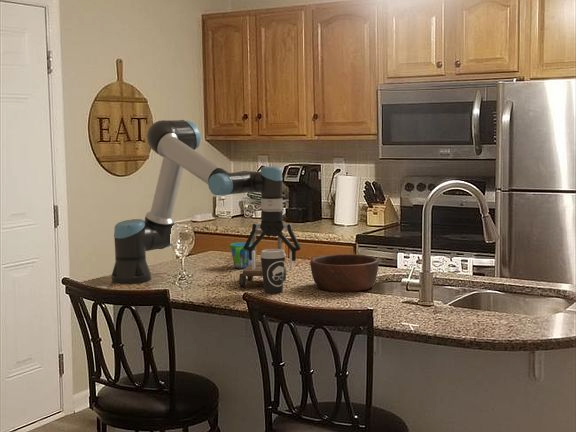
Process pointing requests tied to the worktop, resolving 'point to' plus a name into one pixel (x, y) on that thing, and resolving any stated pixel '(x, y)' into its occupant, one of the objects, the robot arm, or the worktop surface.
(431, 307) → the worktop surface
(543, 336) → the worktop surface
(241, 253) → the snack cup
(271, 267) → the coffee cup
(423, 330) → the worktop surface
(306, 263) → the worktop surface
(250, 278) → the trolley
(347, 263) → the wooden bowl
